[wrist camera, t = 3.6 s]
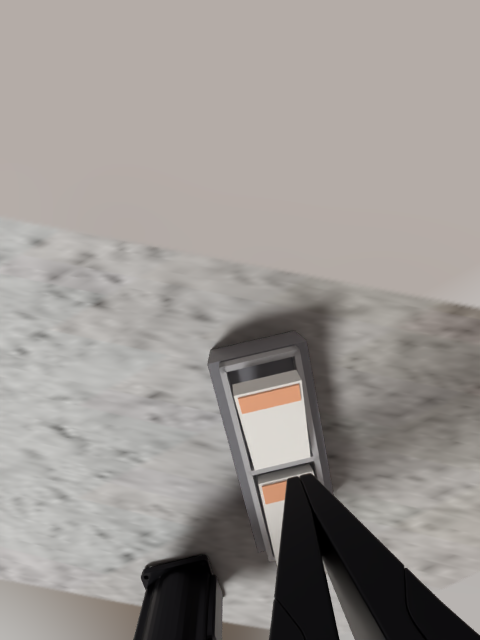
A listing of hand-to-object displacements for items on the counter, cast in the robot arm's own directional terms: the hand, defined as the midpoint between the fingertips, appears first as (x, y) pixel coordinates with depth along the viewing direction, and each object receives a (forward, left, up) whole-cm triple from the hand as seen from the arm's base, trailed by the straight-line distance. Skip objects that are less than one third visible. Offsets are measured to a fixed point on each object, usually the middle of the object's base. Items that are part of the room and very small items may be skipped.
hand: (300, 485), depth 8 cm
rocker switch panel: (0, -7, -12) cm, 14 cm away
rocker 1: (0, -3, -7) cm, 8 cm away
